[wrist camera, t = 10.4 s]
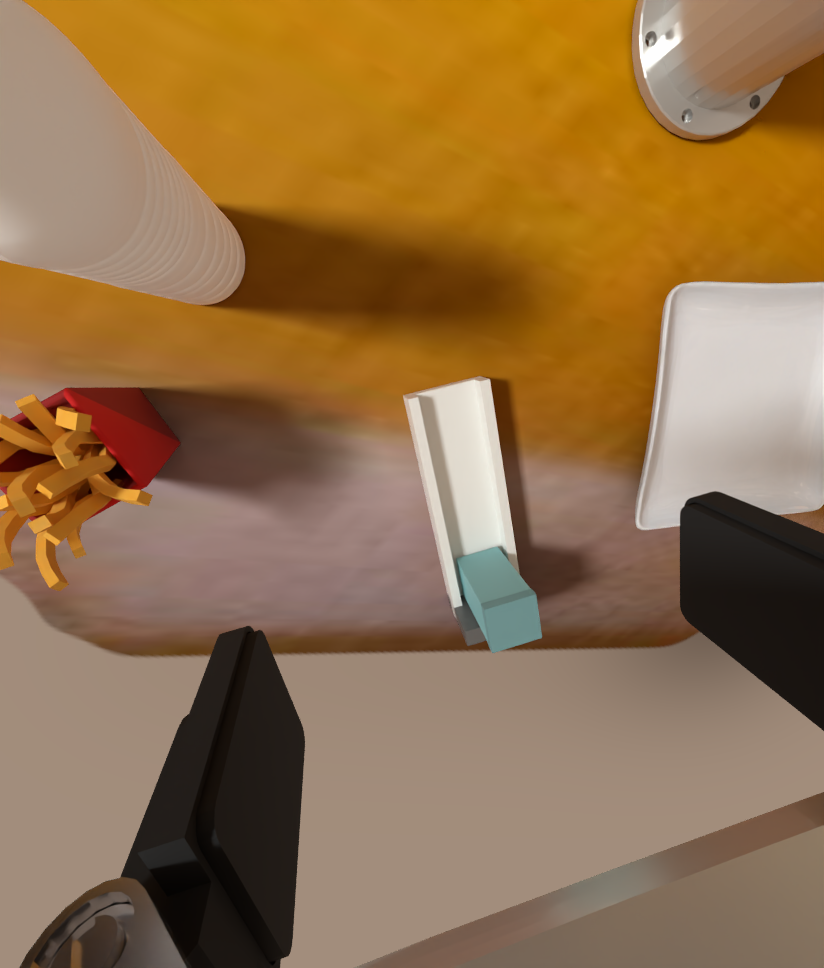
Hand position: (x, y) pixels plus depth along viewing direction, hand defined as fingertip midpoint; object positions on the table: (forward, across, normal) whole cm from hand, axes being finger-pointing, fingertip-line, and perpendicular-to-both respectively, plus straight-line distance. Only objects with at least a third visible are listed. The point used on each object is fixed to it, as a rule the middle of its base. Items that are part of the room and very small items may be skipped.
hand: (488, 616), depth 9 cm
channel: (+28, -6, +10) cm, 31 cm away
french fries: (+28, +17, -2) cm, 33 cm away
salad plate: (+29, -33, +8) cm, 45 cm away
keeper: (+27, -6, +17) cm, 32 cm away
